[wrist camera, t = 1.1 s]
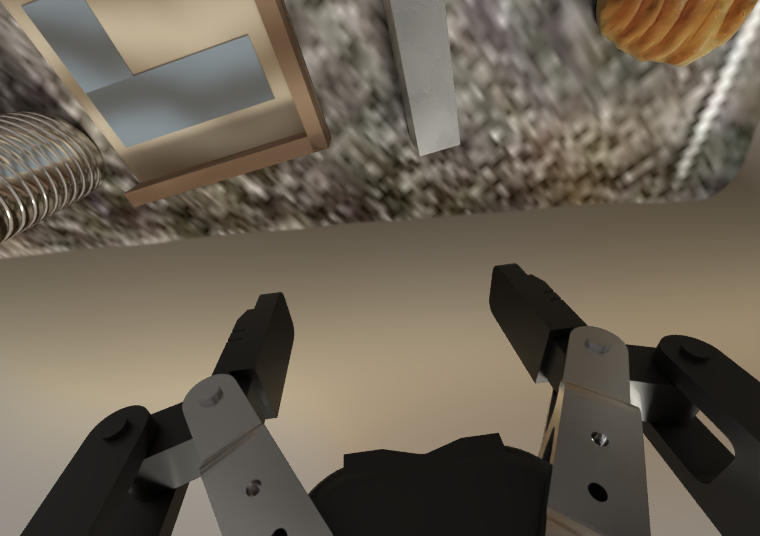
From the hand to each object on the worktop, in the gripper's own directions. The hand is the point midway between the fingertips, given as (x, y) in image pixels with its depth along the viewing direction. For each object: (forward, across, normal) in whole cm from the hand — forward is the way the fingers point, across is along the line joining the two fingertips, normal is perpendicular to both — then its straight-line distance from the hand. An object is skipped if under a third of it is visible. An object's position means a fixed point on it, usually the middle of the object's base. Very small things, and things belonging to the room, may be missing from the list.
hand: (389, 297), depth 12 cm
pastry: (+18, -23, -10) cm, 30 cm away
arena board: (+19, +12, -9) cm, 24 cm away
